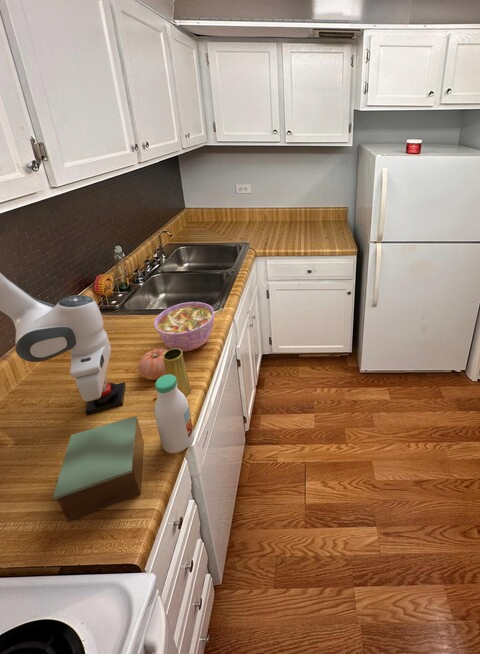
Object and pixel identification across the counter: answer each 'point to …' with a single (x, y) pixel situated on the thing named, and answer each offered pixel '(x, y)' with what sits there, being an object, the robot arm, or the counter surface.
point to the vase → (177, 369)
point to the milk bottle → (172, 415)
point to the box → (107, 488)
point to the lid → (97, 456)
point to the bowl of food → (185, 325)
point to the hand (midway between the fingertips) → (103, 388)
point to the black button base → (107, 400)
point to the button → (107, 391)
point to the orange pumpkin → (153, 364)
